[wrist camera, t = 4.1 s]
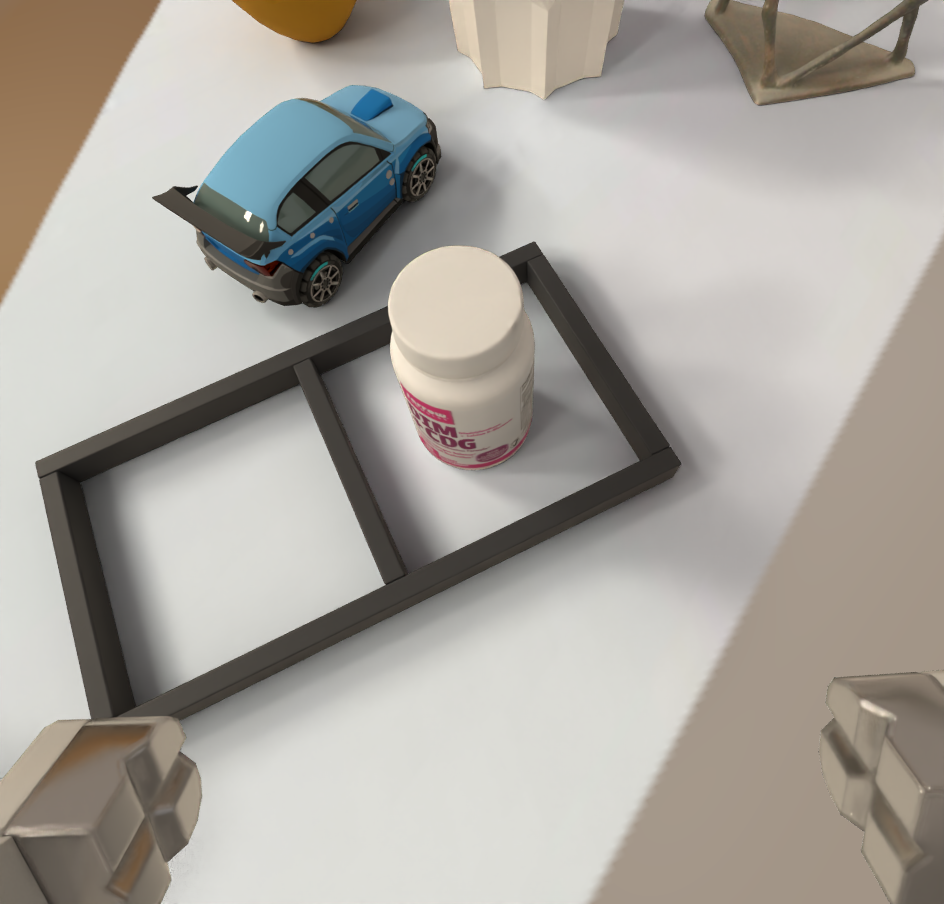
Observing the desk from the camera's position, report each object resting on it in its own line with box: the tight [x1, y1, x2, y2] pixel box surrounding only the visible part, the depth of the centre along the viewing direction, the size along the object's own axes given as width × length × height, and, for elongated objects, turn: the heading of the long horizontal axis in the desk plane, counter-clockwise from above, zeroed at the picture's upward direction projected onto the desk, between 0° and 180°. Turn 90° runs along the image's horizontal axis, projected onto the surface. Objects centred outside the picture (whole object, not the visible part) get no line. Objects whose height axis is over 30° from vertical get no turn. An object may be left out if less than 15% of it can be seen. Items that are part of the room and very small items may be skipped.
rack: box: [35, 242, 681, 721], centre depth 25 cm, size 12×22×2 cm, turn 116°
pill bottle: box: [388, 246, 535, 470], centre depth 23 cm, size 5×5×8 cm
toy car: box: [152, 85, 441, 307], centre depth 28 cm, size 6×12×6 cm, turn 143°
